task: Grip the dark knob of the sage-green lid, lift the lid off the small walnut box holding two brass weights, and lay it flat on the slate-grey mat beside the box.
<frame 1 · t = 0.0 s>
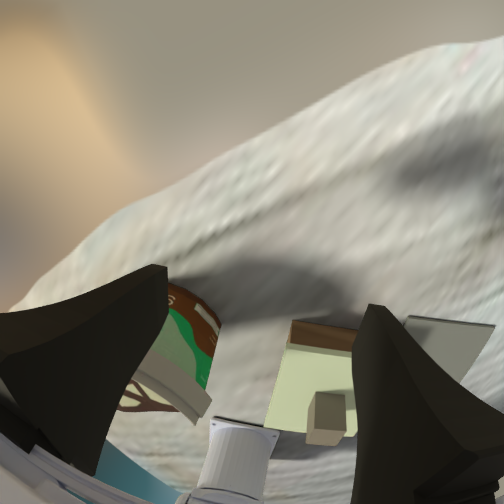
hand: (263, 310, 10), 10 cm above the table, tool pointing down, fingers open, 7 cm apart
mat: (426, 371, 23), on the table
box: (325, 370, 24), on the table
food container: (159, 300, 24), on the table
lid: (326, 396, 22), point 3 cm above the table, touching box
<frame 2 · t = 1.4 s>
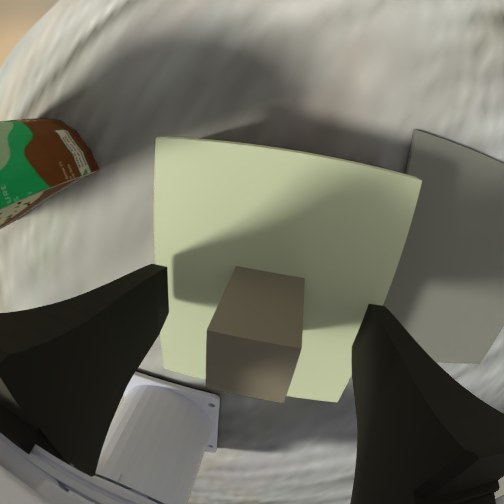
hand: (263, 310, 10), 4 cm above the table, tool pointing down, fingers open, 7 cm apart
mat: (464, 272, 13), on the table
food container: (36, 153, 14), on the table
lid: (267, 291, 11), point 3 cm above the table, touching box
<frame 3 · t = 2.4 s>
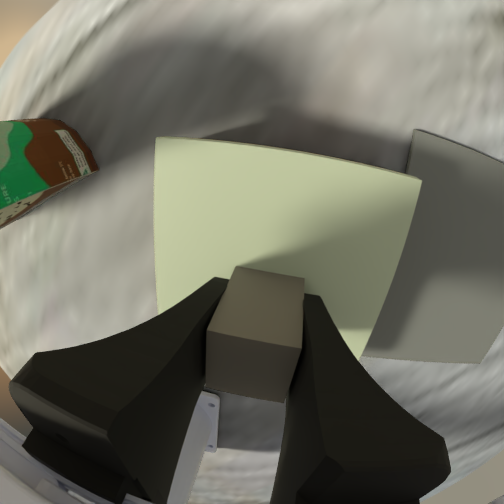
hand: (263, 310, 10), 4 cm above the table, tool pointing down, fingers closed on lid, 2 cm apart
mat: (464, 272, 13), on the table
food container: (36, 153, 14), on the table
lid: (267, 291, 11), point 3 cm above the table, touching box, gripper
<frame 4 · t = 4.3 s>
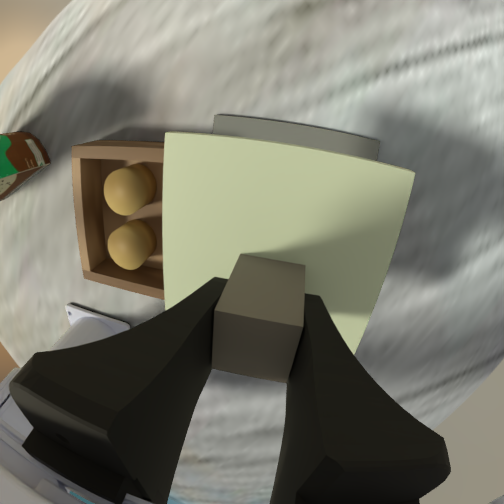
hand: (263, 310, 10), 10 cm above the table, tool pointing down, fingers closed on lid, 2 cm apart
mat: (283, 218, 19), on the table
box: (141, 210, 21), on the table
food container: (17, 153, 21), on the table
lid: (270, 279, 12), point 8 cm above the table, touching gripper
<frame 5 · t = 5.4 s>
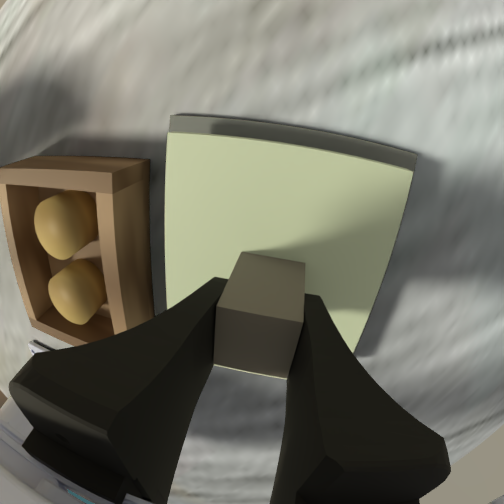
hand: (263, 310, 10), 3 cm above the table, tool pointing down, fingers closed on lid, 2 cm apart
mat: (273, 264, 13), on the table
box: (89, 246, 15), on the table
lid: (270, 276, 12), point 1 cm above the table, touching gripper
when the fingers open (3 cm above the table, at t = 6.1 s): lid stays where it is, resting on mat.
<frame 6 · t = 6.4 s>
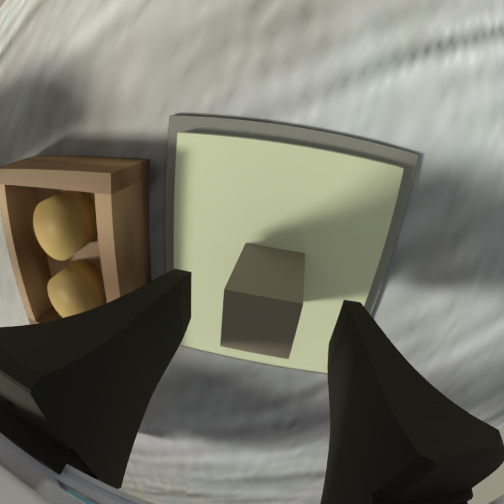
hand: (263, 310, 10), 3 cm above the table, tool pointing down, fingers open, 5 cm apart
mat: (273, 265, 13), on the table
box: (88, 247, 15), on the table
lid: (272, 267, 13), resting on mat
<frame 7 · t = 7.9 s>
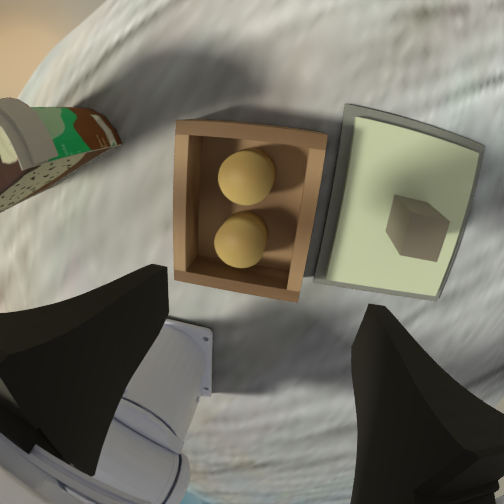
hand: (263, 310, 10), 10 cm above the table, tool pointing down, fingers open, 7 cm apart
mat: (402, 212, 18), on the table
box: (249, 200, 19), on the table
food container: (70, 134, 19), on the table
lid: (404, 213, 17), resting on mat
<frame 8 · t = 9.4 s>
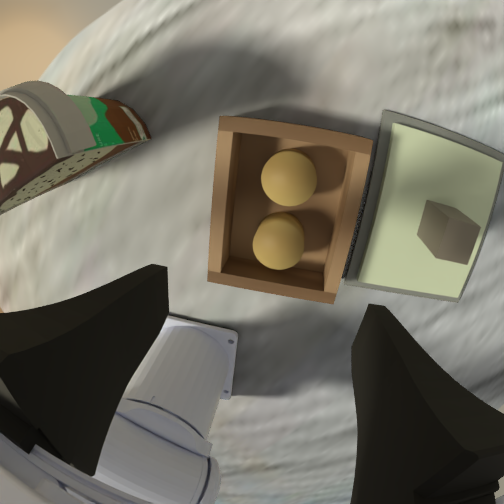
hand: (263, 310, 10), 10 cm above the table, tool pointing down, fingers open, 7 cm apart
mat: (431, 217, 18), on the table
box: (286, 201, 19), on the table
food container: (92, 126, 19), on the table
lid: (433, 218, 17), resting on mat
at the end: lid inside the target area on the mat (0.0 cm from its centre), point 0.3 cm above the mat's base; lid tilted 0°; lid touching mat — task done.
